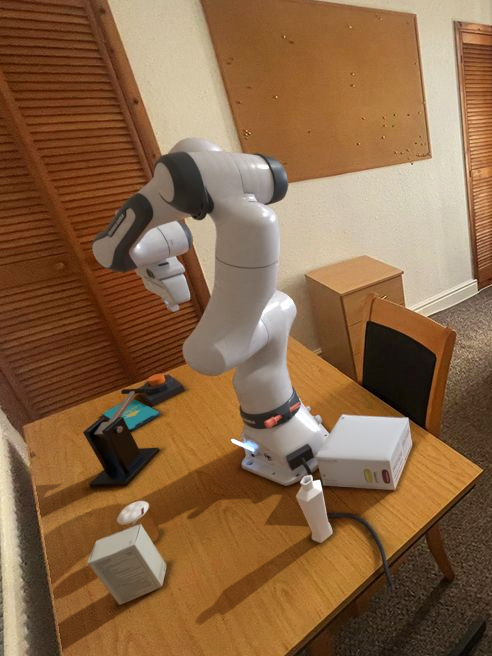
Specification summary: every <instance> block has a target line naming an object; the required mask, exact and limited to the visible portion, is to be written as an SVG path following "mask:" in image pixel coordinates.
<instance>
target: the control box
mask: <svg viewBox="0 0 492 656" xmlns="http://www.w3.org/2000/svg"><path fill="white" fill-rule="evenodd" d="M163 375H164V377H165V380H166V381H165V382H164V383H162V384H160V385H157V386H150V384H149V382H148V381H146V382H145V383H144V384H143V385H141V386H139V387H137V388H136V389H140V388H148V392H147V393H141V394H139V396H141V398H142V399H144V400H145V401H146V402H147V403H148V404H149V405H151V406H152V407H155V406H157V405H159V404H161V403H162V402H165V401H168V400H170V399H171V398H173V397H175V396H177V395H179V394H181V393H183V392H185V391H186V389H185V387H184V385H183V383H181V382H179V380H177V379H175V378H174V377H173V376H171V375H170V374H169V373H167V374H163Z"/></svg>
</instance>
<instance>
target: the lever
mask: <svg viewBox="0 0 492 656" xmlns="http://www.w3.org/2000/svg"><path fill="white" fill-rule="evenodd" d="M147 392H148V388H140V389H137V388H123V389H122V390H121V391H120V393H121V395H126V397H125V398H124V400H123V401H122V402H121V403H122V404H121V403H120V404H121V405H120V406H119V408H118V409H117V411H116V412H115V413H114V415H113V416H112V417H111V419H110V420H109V419H108V421H107V422H102V423H101V425H100V426H99V427H98V429H97V430H96V431H95V433H94V435H96V436H97V437H99V438H100V439H106V438H105V436H104V434H103V433H102V431H103V430H104V429H105V428H106V427H107V426H108V425H110V424H111V423H112V422H113V421H114V420H115V419H117V418H118V417H121V415H122V414H123V413H124V411H125V410H126V408H127V407H128V406H129V404H130V403H131V402H132V400H133V399H135V397H136V396H137V395H140V394H141V393H147Z"/></svg>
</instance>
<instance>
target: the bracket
mask: <svg viewBox="0 0 492 656" xmlns="http://www.w3.org/2000/svg"><path fill="white" fill-rule="evenodd" d="M102 422H108V421H107V418H106V417H99V418H98V419H97V420H95V421H94V422H92V424H91V425H90V426H88V427H87V428H86V429H85V430H83V431H82V433H83V435H84V437H85V439H86V440H87V442H88V444H89V445H90V448H91V449H92V451H93V452H94V454H95V456H96V458H97V460H98V462H99V463H100V465H101V467H102V469H103V470H101V471H100V473H99V474H98V475H97V476H95V477H94V478H93V479H92V480H91V481H90V482H89V483H88V486H89V488H90V489H94V488H95V489H96V488H97V489H98V488H114V487H115V488H116V487H128V486H129V485H130V484H131V483H132V482H133V481H134V480H135V478H137V476H139V474H140V473H141V472H142V471H143V470H144V469H145V468H146V467H147V465H149V463H150V462H152V460H153V459H154V458H155V457H156V456H157V455H158V454H159V453H160V452H161V450H160V448H159V447H140V448H139V446H138V444H137V442H136V439H135V437H134V436H133V434H132V431H130V430H129V428H128V426H127V424H126V422H125V420H124V418H123V417H118V418H117V419H115V420H114V421H113V422H112V423H111V424H110V425H108V426H107V427H106V428H105V429H104V430H103V431H102V433H103V434H104V436H105V438H106V439H100V438H99V437H97V436H96V435H94V433H95V431H96V430H97V429H98V427H99V426H100V425H101V423H102Z"/></svg>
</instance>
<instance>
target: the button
mask: <svg viewBox="0 0 492 656" xmlns="http://www.w3.org/2000/svg"><path fill="white" fill-rule="evenodd" d="M164 375H165V374H164V373H160V372H159V373H154V374H153V375H151V376H149V377H148V378H147V382H149V384H150V386H157V385H160V384H162V383H164V382H165V381H166V380H165V377H164Z"/></svg>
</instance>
